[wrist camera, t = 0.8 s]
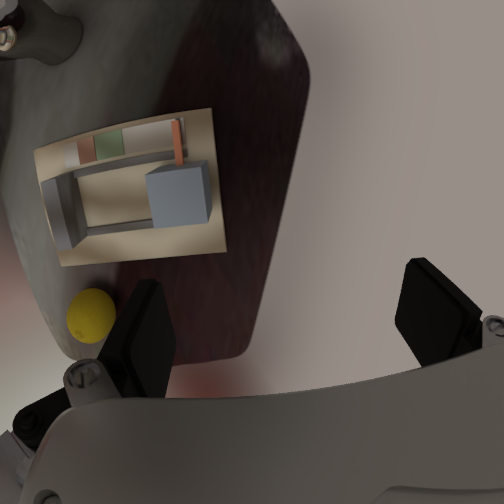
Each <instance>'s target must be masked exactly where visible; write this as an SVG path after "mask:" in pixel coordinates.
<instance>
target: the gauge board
mask: <svg viewBox="0 0 504 504" xmlns="http://www.w3.org/2000/svg"><path fill="white" fill-rule="evenodd" d="M176 120H179V122H180V132H181V141H182V150H183V158H184V163H187V162H195V161H203V160H207V162H208V171H209V180H210V189H211V197H212V205H213V208H212V212H211V215H210V218H209V222H208V223H205V224H195V225H185V226H176V227H167V228H158V229H154V225H153V220H152V215H151V209H150V204H149V198H148V192H147V186H146V180H145V175H146V174H147V173H149V172H151V171H152V170H154V169H156V168H158V167H159V166H166V165H173V164H176V160H175V152H174V144H173V135H172V126H171V121H176ZM33 151H34V157H35V164H36V170H37V175H38V181H39V186H40V190H41V195H42V200H43V204H44V208H45V212H46V216H47V220H48V224H49V228H50V231H51V235H52V238H53V242H54V245H55V248H56V251H57V255H58V258H59V261H60V264H61V267H62V266H73V265H84V264H95V263H106V262H117V261H128V260H139V259H150V258H161V257H172V256H184V255H195V254H206V253H217V252H226V250H227V244H226V236H225V228H224V219H223V210H222V202H221V193H220V183H219V174H218V165H217V155H216V145H215V135H214V124H213V114H212V108H206V109H198V110H191V111H184V112H178V113H172V114H166V115H161V116H155V117H150V118H145V119H140V120H136V121H131V122H127V123H122V124H118V125H114V126H110V127H106V128H102V129H98V130H95V131H91V132H88V133H84V134H81V135H77V136H74V137H71V138H68V139H65V140H61V141H58V142H55V143H53V144H50V145H47V146H44V147H41V148H38V149H36V150H33Z"/></svg>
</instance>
